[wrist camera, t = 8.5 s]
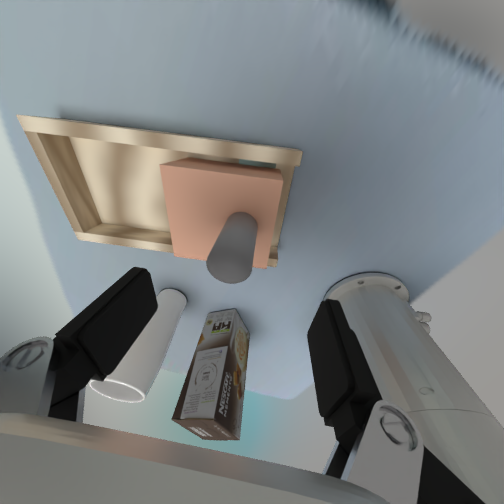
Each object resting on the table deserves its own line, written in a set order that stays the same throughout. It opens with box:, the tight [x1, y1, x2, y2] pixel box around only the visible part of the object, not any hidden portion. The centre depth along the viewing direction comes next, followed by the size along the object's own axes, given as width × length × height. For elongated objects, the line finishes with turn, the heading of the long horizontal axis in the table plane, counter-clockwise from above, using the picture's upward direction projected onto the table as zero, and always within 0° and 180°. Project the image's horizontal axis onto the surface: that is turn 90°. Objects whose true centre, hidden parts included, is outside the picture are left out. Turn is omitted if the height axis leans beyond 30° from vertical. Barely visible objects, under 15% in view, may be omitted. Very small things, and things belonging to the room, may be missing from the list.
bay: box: [16, 115, 303, 267], centre depth 21 cm, size 26×13×4 cm, turn 84°
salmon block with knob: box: [159, 157, 283, 284], centre depth 17 cm, size 10×9×12 cm
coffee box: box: [172, 309, 250, 440], centre depth 30 cm, size 9×6×16 cm
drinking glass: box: [89, 289, 187, 402], centre depth 28 cm, size 7×7×15 cm
